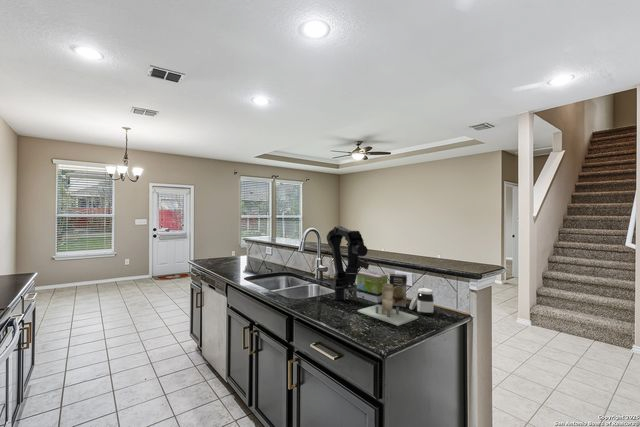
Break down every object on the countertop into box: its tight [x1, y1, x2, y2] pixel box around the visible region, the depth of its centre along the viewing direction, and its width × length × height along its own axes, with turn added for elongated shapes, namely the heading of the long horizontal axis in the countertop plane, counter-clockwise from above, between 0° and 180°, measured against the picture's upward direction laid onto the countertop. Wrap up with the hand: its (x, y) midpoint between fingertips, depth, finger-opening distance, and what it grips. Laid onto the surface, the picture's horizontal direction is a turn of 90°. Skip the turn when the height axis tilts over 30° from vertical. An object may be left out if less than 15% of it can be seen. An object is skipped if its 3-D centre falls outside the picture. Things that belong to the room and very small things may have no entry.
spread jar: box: [409, 287, 435, 316], centre depth 155 cm, size 12×11×12 cm
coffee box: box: [389, 273, 408, 308], centre depth 167 cm, size 9×6×16 cm
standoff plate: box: [357, 304, 419, 327], centre depth 150 cm, size 24×16×4 cm, turn 40°
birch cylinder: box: [381, 282, 393, 315], centre depth 149 cm, size 5×5×14 cm
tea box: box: [356, 270, 388, 304], centre depth 178 cm, size 15×10×15 cm
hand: (353, 284), depth 159 cm, fingers open, 9 cm apart
